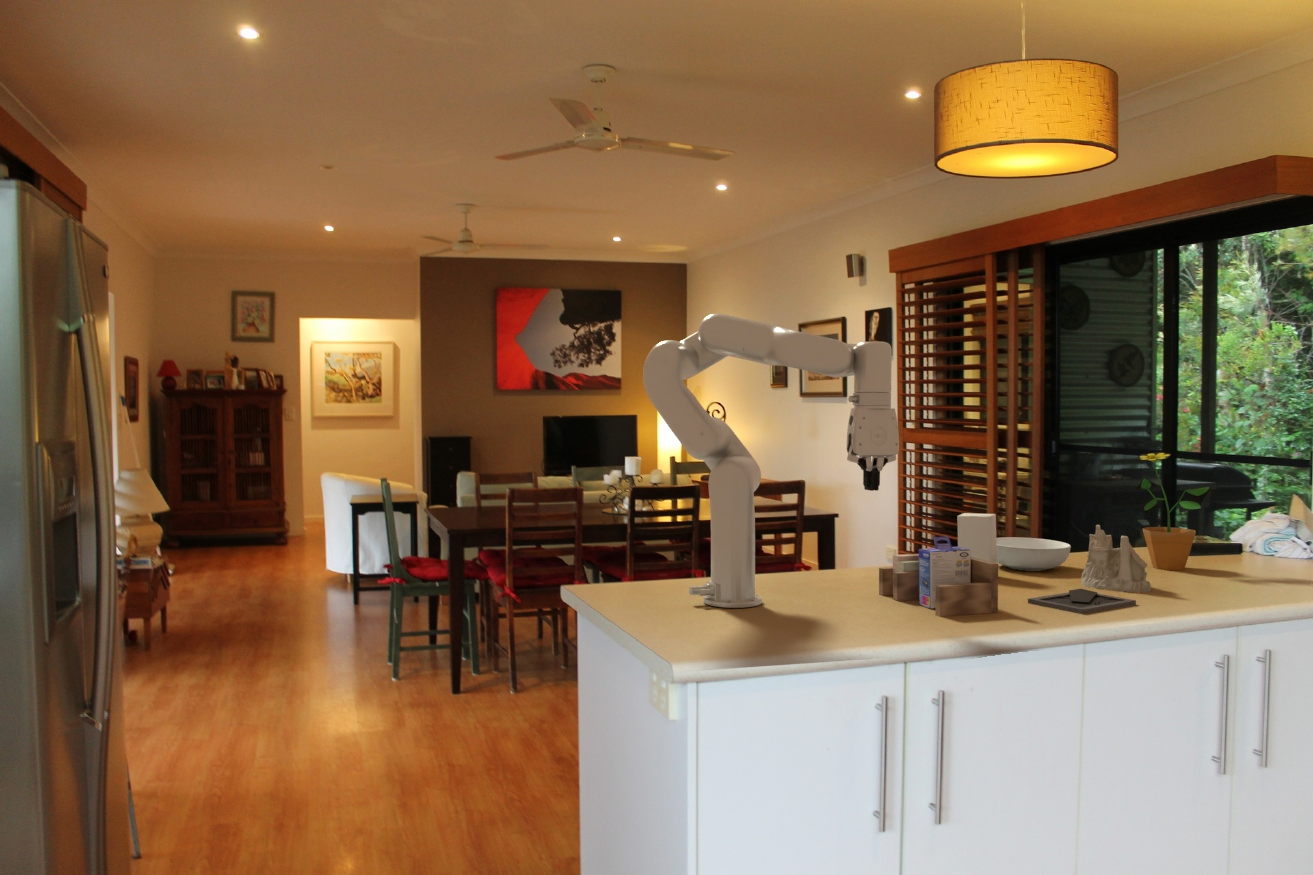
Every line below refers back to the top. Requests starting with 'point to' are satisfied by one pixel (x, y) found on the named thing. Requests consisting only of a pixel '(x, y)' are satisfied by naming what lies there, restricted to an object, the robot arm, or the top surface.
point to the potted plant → (1169, 542)
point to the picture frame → (1081, 601)
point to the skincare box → (978, 535)
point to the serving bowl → (1031, 553)
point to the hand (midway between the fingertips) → (871, 489)
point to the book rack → (943, 586)
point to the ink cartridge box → (942, 569)
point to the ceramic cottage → (1114, 565)
